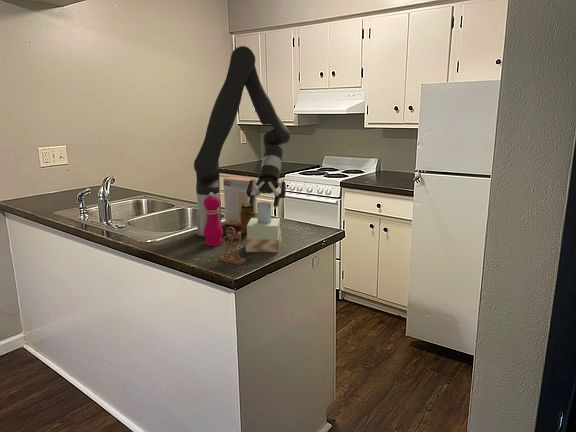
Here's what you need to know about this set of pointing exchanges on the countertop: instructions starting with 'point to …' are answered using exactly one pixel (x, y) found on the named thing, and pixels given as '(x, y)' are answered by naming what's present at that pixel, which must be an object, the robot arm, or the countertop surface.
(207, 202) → the pepper mill
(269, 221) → the blue round block
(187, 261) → the countertop surface
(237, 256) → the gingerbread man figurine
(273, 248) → the maple base block
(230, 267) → the countertop surface
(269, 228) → the sage top block
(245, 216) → the condiment
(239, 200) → the cracker box
